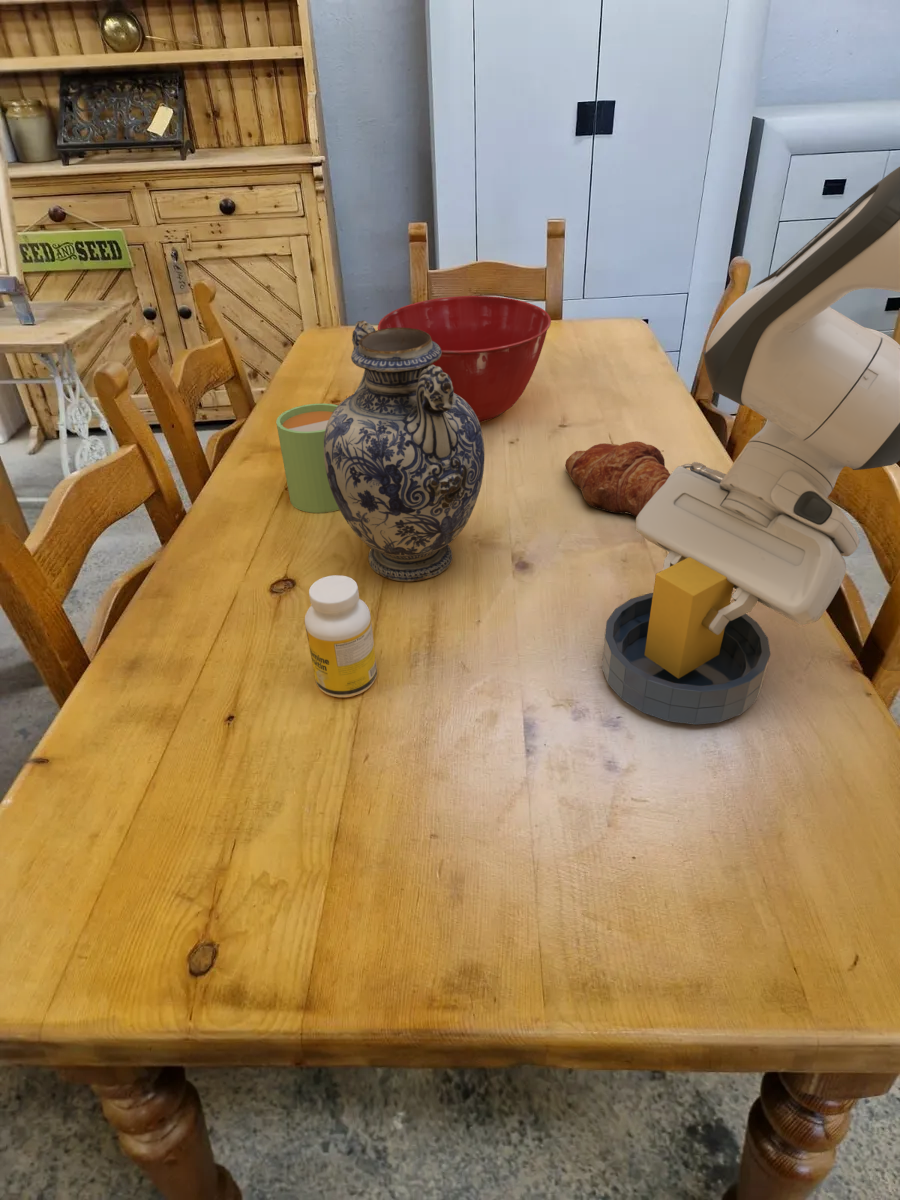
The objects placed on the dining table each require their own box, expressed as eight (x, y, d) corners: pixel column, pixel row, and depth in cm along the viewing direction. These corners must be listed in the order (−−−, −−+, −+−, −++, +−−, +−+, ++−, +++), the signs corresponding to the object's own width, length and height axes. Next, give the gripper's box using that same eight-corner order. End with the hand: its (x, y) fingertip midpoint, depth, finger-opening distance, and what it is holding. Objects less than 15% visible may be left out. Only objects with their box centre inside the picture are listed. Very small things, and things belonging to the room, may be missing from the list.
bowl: (786, 721, 75) (798, 682, 72) (624, 737, 74) (630, 698, 71) (725, 622, 88) (732, 585, 85) (586, 634, 87) (589, 597, 84)
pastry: (552, 517, 108) (554, 463, 103) (566, 466, 120) (568, 416, 115) (680, 528, 104) (688, 473, 99) (681, 475, 116) (688, 424, 111)
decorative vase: (520, 575, 97) (524, 347, 80) (385, 626, 89) (359, 387, 73) (434, 504, 112) (422, 300, 95) (312, 543, 104) (277, 329, 88)
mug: (372, 501, 113) (363, 422, 106) (302, 519, 110) (288, 439, 103) (342, 466, 122) (332, 392, 115) (276, 482, 119) (262, 406, 112)
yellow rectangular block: (719, 654, 79) (737, 572, 73) (678, 679, 77) (693, 595, 71) (684, 632, 82) (698, 551, 76) (644, 655, 80) (655, 573, 74)
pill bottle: (317, 661, 85) (301, 572, 78) (377, 656, 85) (366, 566, 78) (314, 703, 80) (296, 611, 73) (378, 697, 80) (367, 605, 73)
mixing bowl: (511, 454, 124) (512, 356, 115) (355, 428, 134) (344, 336, 125) (569, 390, 144) (573, 303, 135) (429, 372, 154) (425, 290, 145)
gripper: (672, 442, 79) (594, 557, 81) (861, 523, 65) (763, 660, 67) (695, 469, 84) (621, 577, 85) (877, 550, 70) (785, 678, 72)
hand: (685, 615), depth 76 cm, fingers closed on yellow rectangular block, 4 cm apart
